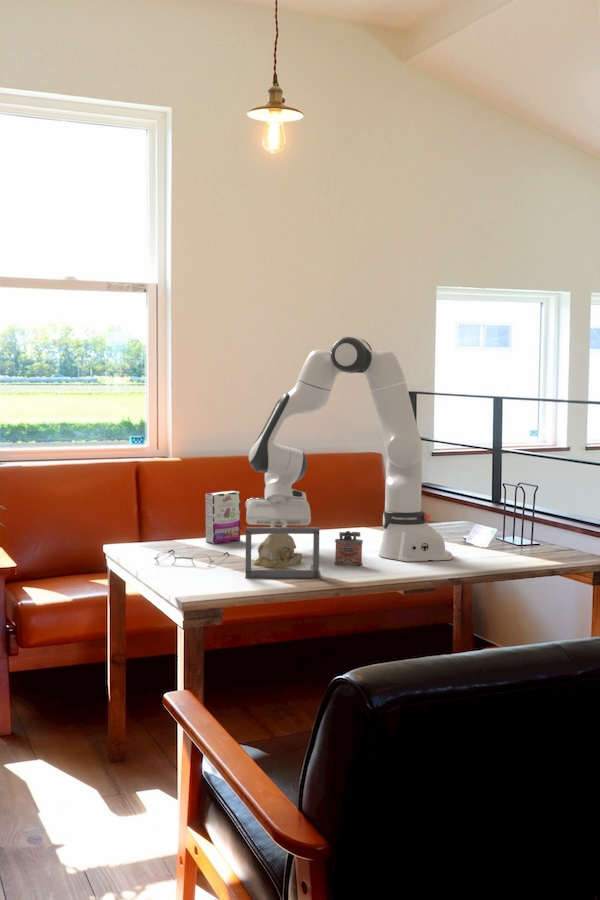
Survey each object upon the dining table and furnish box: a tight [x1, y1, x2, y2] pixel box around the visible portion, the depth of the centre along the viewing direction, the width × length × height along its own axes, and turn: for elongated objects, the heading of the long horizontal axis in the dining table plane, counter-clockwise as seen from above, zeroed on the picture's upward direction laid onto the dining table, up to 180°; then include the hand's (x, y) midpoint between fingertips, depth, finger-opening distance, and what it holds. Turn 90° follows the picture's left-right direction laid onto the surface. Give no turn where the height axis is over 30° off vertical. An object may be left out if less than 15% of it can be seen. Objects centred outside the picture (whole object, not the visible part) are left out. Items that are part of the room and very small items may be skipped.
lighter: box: [334, 530, 364, 567], centre depth 271 cm, size 8×3×10 cm, turn 82°
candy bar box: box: [204, 490, 241, 545], centre depth 307 cm, size 11×5×16 cm, turn 131°
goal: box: [244, 526, 320, 579], centre depth 258 cm, size 20×11×14 cm, turn 93°
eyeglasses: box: [153, 549, 230, 567], centre depth 277 cm, size 18×19×4 cm
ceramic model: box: [252, 534, 303, 568], centre depth 273 cm, size 14×11×10 cm
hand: (278, 534), depth 285 cm, fingers closed
